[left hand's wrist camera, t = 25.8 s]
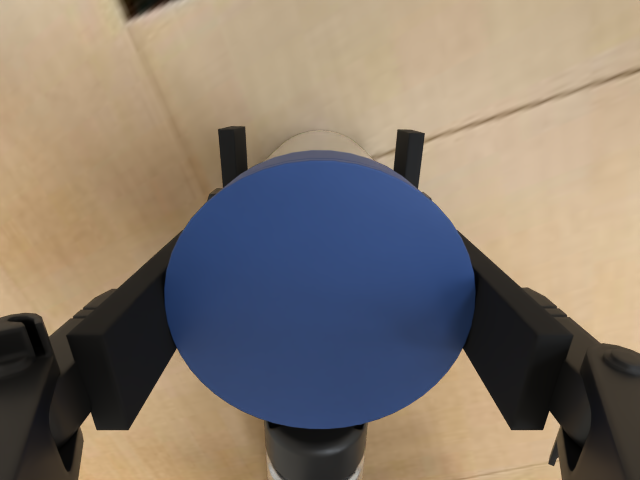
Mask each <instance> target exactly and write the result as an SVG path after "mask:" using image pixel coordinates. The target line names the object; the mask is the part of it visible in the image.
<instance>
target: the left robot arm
mask: <svg viewBox="0 0 640 480" xmlns="http://www.w3.org/2000/svg"><path fill="white" fill-rule="evenodd" d="M182 231H183V230H182ZM182 231H181V232H180V233H179V234H178V235H177V236H175V237H174V238H173V239H172V240H171V241H170V242H169V243H168V244H167V245H165V246H164V247H163V248H162V249H161V250H160V251H159V252H158V253H157V254H156V255H154V256H153V257H152V258H151V259H150V260H149V261H148V262H147V263H146V264H144V265H143V266H142V267H141V268H140V269H139V270H138V271H137V272H136V273H134V274H133V275H132V276H131V277H130V278H129V279H128V280H127V281H126V282H124V283H123V284H122V285H121V286H120V287H119V288H118V289H111V290H109V291H107V292H105V293H103V294H101V295H99V296H97V297H95V298H94V299H93V300H92V301H91V302H89V303H88V304H87V305H86V306H85V307H84V308H83V310H80V311H79V312H78V313H76V314H75V315H74V316H73V319H69V320H68V321H67V322H66V323H65V324H64V325H62V326H61V327H60V328H59V329H58V330H57V331H55V332H54V333H53V334H52V335H51V336H48V334H47V331H46V328H45V325H44V322H43V319H42V317H41V316H39V315H37V314H34V313H20V314H13V315H8V316H4V317H1V318H0V480H78V476H79V469H80V462H81V456H82V449H83V442H84V441H83V434H82V431H81V428H80V426H81V424H82V423H83V422H84V420H85V419H86V418H87V416H88V415H89V414H90V412H91V414H92V417H93V420H94V423H95V426H96V429H97V430H129V428H130V427H131V425H132V423H133V422H134V420H135V418H136V416H137V415H138V413H139V411H140V410H141V408H142V406H143V405H144V403H145V401H146V400H147V398H148V396H149V394H150V393H151V391H152V389H153V388H154V386H155V384H156V383H157V381H158V379H159V378H160V376H161V374H162V372H163V371H164V369H165V367H166V366H167V364H168V362H169V361H170V359H171V357H172V356H173V354H174V352H175V350H176V349H177V347H176V345H175V343H174V341H173V338H172V335H171V332H170V329H169V326H168V322H167V317H166V311H165V300H164V286H165V279H166V271H167V267H168V264H169V260H170V257H171V253H172V251H173V249H174V247H175V245H176V242H177V240H178V238H179V236H180V234H181V233H182ZM457 232H458V233H459V235H460V236H461V238H462V240H463V243H464V245H465V247H466V249H467V252H468V254H469V257H470V261H471V264H472V268H473V272H474V280H475V289H476V296H475V310H474V315H473V320H472V325H471V329H470V332H469V334H468V337H467V340H466V343H465V345H464V346H463V349H464V351H465V353H466V354H467V356H468V358H469V359H470V361H471V363H472V364H473V366H474V368H475V369H476V371H477V373H478V375H479V376H480V378H481V380H482V381H483V383H484V385H485V386H486V388H487V390H488V391H489V393H490V395H491V397H492V398H493V400H494V402H495V403H496V405H497V407H498V408H499V410H500V412H501V413H502V415H503V417H504V419H505V420H506V422H507V424H508V425H509V427H510V429H511V430H543V429H544V425H545V422H546V419H547V416H548V413H549V411H550V412H551V413H552V415H553V416H554V417H555V419H556V420H557V421H558V423H559V424H560V428H559V431H558V434H557V437H556V440H555V443H554V446H553V448H552V451H551V454H550V458H549V463H548V464H550V465H552V466H554V465H555V462H556V459H557V458H558V457H559V461H560V468H561V475H562V480H640V354H639V353H637V352H635V351H633V350H630V349H627V348H624V347H621V346H617V345H611V344H605V343H602V344H601V343H600V342H598V341H597V340H596V339H595V338H594V337H592V336H591V335H590V334H589V333H588V332H586V331H585V330H584V329H583V328H582V327H581V326H579V325H578V324H577V323H576V322H575V321H573V320H572V319H571V318H570V317H567V315H566V314H565V313H564V312H563V311H562V310H560V309H557V306H556V305H555V304H553V303H552V302H551V301H550V300H549V299H547V298H546V297H545V296H543V295H541V294H539V293H537V292H535V291H533V290H531V289H530V288H521V287H520V286H519V285H518V284H516V283H515V282H514V281H513V280H512V279H511V278H510V277H509V276H508V275H506V274H505V273H504V272H503V271H502V270H501V269H500V268H499V267H498V266H496V265H495V264H494V263H493V262H492V261H491V260H490V259H489V258H488V257H486V256H485V255H484V254H483V253H482V252H481V251H480V250H479V249H478V248H476V247H475V246H474V245H473V244H472V243H471V242H470V241H469V240H468V239H467V238H465V237H464V236H463V235H462V234H461V233H460V232H459V231H458V230H457Z"/></svg>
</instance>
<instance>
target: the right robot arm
mask: <svg viewBox="0 0 640 480" xmlns="http://www.w3.org/2000/svg"><path fill="white" fill-rule="evenodd" d="M218 133H219V145H220V157H221V168H222V180H223V188H224V187H225V186H226V185H227V184H229V183H230V182H231V181H232V180H234V179H235V178H236V177H237V176H239V175H240V174H241V173H243V172H245V171H247V170H248V168H247V151H246V134H245V127H241V126H231V127H226V128H222V129H218ZM424 135H425V133H422V132H418V131H414V130H397V141H396V151H395V161H394V171H395V172H397V173H398V174H400V175H401V176H403V177H404V178H405V179H406V180H407V181H409V182H410V183H411V184H412V185H413V186H415V187H416V188H417V189H418V184H419V176H420V168H421V160H422V152H423V143H424ZM223 188H217V189H215V190H214V191H213V192H211V193H210V194H209V197H208V200H210V199H211V198H212V197H213V196H214V195H216V194H217V193H218V192H219V191H220V190H221V189H223ZM422 193H423V194H424V195H425V196H426V197H428V198H429V199H430V200H431V198H430V197H429V196H428V195H426V194H425V193H424V192H422ZM208 200H207V201H208ZM431 201H432V200H431ZM367 424H368V422H367V423H364V424H360V425H354V426H349V427H343V428H332V429H307V428H298V427H290V426H285V425H280V424H276V423H272V422H269V421H266V420H264V425H265V443H266V461H267V476H268V480H362V477H363V468H364V459H365V455H364V451H365V445H366V435H367Z"/></svg>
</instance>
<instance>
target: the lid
mask: <svg viewBox="0 0 640 480" xmlns="http://www.w3.org/2000/svg"><path fill="white" fill-rule="evenodd" d="M475 296H476V289H475V280H474V272H473V268H472V264H471V261H470V257H469V254H468V252H467V249H466V247H465V245H464V243H463V240H462V238H461V236H460V235H459V233H458V232H457V230H456V229H455V227H454V225H453V224H452V222H451V221H450V220H449V219H448V217H447V216H446V215H445V214H444V213H443V212H442V211H441V209H440V208H439V207H438V206H437V205H436V204H435V203H434V202H432V201H431V200H430V199H429V198H428V197H426V196H425V195H424V194H423V193H422V192H421V191H419V190H418V189H417V188H416V187H415V186H413V185H412V184H411V183H410V182H409V181H407V180H406V179H405V178H404V177H403V176H401V175H400V174H398V173H397V172H395V171H393V170H392V169H390V168H389V167H387V166H385V165H383V164H380V163H378V162H376V161H374V160H371V159H369V158H366V157H362V156H359V155H355V154H352V153H346V152H339V151H333V150H309V151H300V152H292V153H289V154H285V155H281V156H277V157H274V158H271V159H269V160H266V161H264V162H262V163H259V164H257V165H255V166H253V167H252V168H250V169H248V170H247V171H245V172H243V173H241V174H240V175H239V176H237V177H236V178H235V179H234V180H232V181H231V182H230V183H229V184H227V185H226V186H225V187H224V188H223V189H221V190H220V191H219V192H218V193H217V194H216V195H214V196H213V197H212V198H211V199H210V200H208V201H207V202H206V203H205V204H204V205H203V206H202V207H201V208H200V209H199V211H198V212H197V213H196V214H195V215H194V216H193V217H192V218H191V220H190V221H189V222H188V224H187V225H186V227H185V228H184V230H183V231H182V233H181V234H180V236H179V238H178V240H177V242H176V245H175V247H174V249H173V251H172V253H171V257H170V260H169V264H168V267H167V271H166V279H165V286H164V300H165V311H166V317H167V322H168V326H169V329H170V332H171V335H172V338H173V341H174V343H175V345H176V347H177V349H178V351H179V353H180V355H181V356H182V358H183V359H184V361H185V362H186V364H187V365H188V367H189V368H190V370H191V371H192V372H193V373H194V374H195V375H196V376H197V378H198V379H199V380H200V381H201V382H202V383H203V384H204V385H205V386H206V387H208V388H209V389H210V390H211V391H212V392H213V393H214V394H216V395H217V396H219V397H220V398H221V399H223V400H224V401H226V402H227V403H228V404H230V405H232V406H234V407H236V408H238V409H239V410H241V411H243V412H245V413H248V414H250V415H252V416H255V417H257V418H259V419H263V420H266V421H269V422H272V423H276V424H280V425H285V426H290V427H298V428H307V429H332V428H343V427H349V426H354V425H360V424H364V423H367V422H371V421H374V420H377V419H380V418H383V417H385V416H388V415H390V414H392V413H395V412H397V411H398V410H400V409H402V408H404V407H406V406H408V405H410V404H411V403H413V402H414V401H416V400H417V399H418V398H420V397H421V396H423V395H424V394H425V393H426V392H428V391H429V390H430V389H431V388H432V387H433V386H435V385H436V384H437V383H438V382H439V381H440V379H441V378H442V377H443V376H444V375H445V374H446V373H447V372H448V370H449V369H450V368H451V366H452V365H453V363H454V362H455V361H456V359H457V358H458V356H459V354H460V352H461V350H462V348H463V346H464V345H465V343H466V340H467V337H468V334H469V332H470V329H471V325H472V320H473V315H474V310H475Z"/></svg>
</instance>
